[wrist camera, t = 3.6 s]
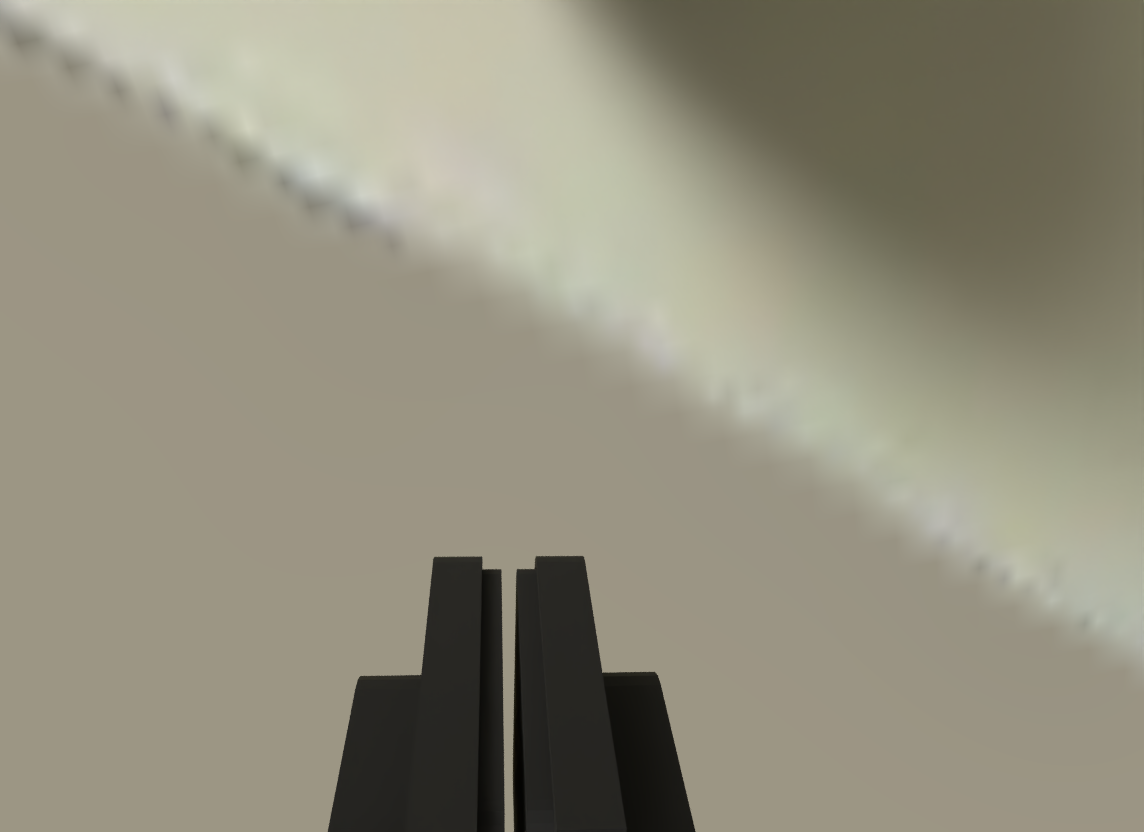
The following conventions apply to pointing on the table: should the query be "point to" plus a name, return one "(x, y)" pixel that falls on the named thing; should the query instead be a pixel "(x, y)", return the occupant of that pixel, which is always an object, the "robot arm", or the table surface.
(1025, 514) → the table surface
